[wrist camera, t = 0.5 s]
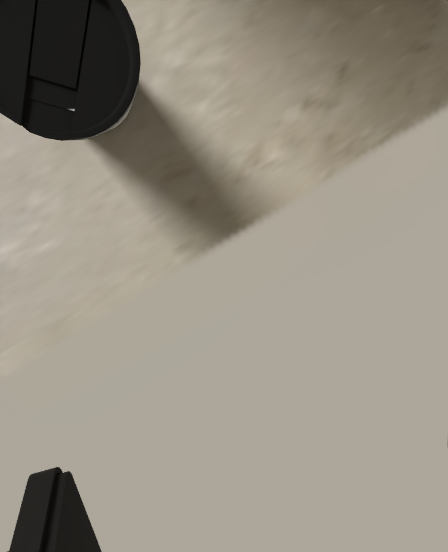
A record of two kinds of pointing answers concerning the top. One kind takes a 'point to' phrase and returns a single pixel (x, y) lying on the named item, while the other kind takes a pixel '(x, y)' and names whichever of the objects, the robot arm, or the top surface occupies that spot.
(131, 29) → the travel mug
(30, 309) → the top surface
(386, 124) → the top surface
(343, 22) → the top surface
